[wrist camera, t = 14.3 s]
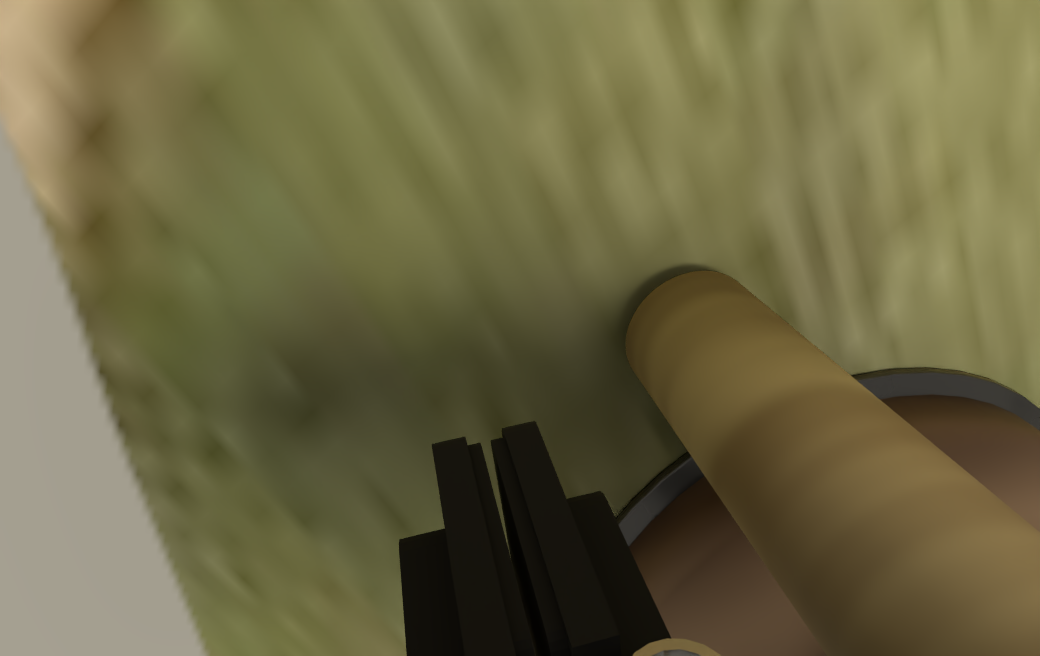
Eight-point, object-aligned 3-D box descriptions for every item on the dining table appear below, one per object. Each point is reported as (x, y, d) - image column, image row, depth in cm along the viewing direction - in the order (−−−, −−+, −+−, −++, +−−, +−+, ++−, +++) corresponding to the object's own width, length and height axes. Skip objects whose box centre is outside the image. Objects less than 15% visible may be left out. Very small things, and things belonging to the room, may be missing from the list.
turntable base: (1036, 248, 17) (1046, 252, 16) (1081, 608, 25) (1088, 615, 25) (446, 587, 18) (448, 596, 17) (680, 821, 26) (683, 830, 26)
